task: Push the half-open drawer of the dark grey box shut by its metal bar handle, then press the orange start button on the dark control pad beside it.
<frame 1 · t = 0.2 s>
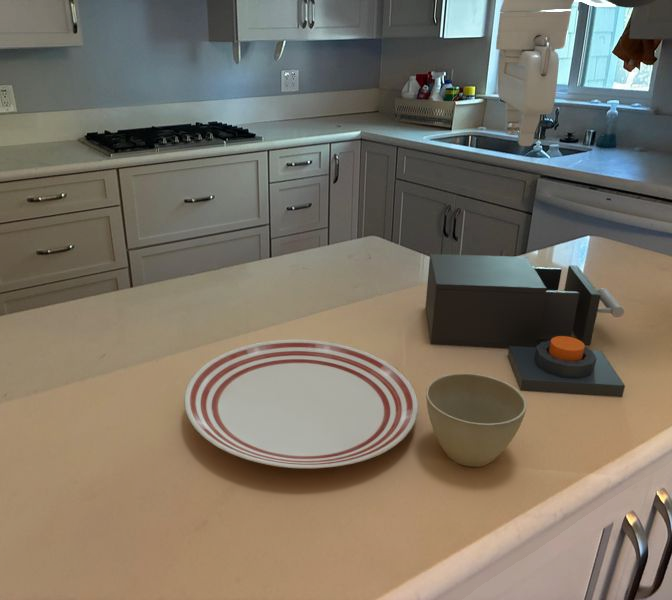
hand: (517, 139, 89), 27 cm above the worktop, tool pointing down, fingers open, 8 cm apart
start button: (566, 349, 79), point 4 cm above the worktop, slide at 0.1 cm
olive beige bowl: (468, 453, 67), on the worktop
dinner plate: (300, 414, 74), on the worktop
control pad: (561, 375, 81), on the worktop
dark grey box: (476, 328, 94), on the worktop
drawer: (550, 302, 90), point 5 cm above the worktop, slide at 6.0 cm
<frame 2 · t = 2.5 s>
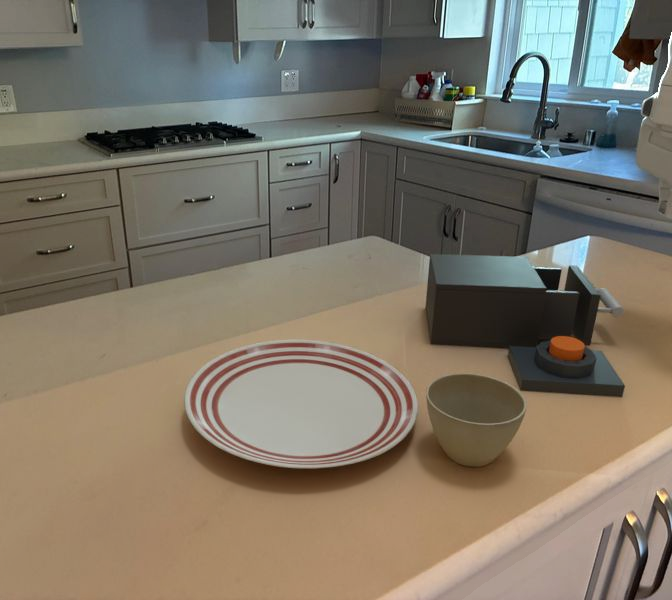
hand: (667, 215, 83), 18 cm above the worktop, tool pointing down, fingers closed
nothing on the worktop moved.
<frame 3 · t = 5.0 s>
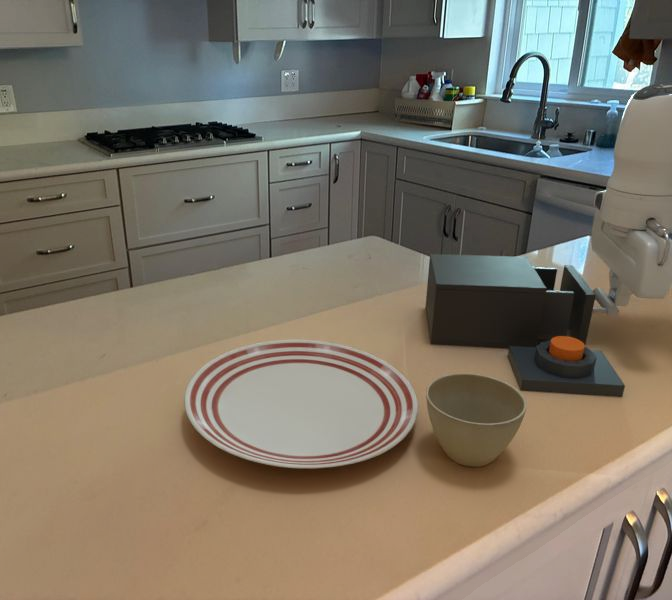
hand: (617, 302, 89), 5 cm above the worktop, tool pointing down, fingers closed, pressing on drawer
drawer: (545, 302, 91), point 5 cm above the worktop, slide at 5.4 cm, touching gripper
everything else where it was.
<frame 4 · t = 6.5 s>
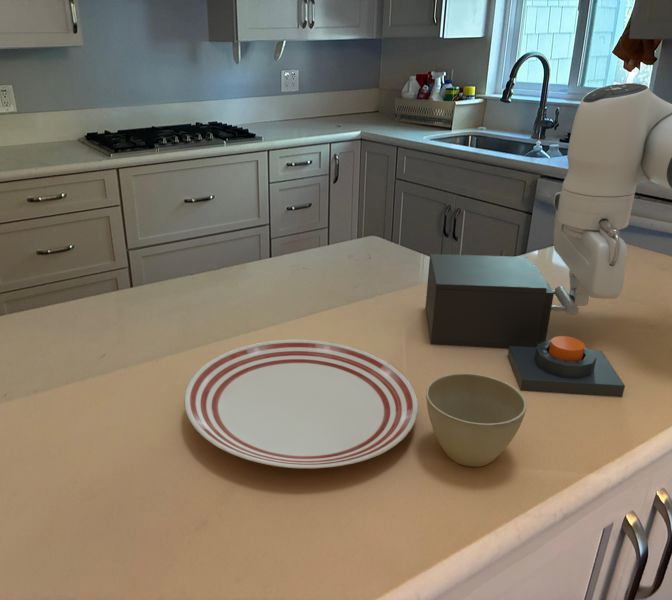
hand: (577, 302, 90), 5 cm above the worktop, tool pointing down, fingers closed, pressing on drawer
drawer: (507, 300, 91), point 5 cm above the worktop, slide at 0.0 cm, touching dark grey box, gripper
everything else where it was.
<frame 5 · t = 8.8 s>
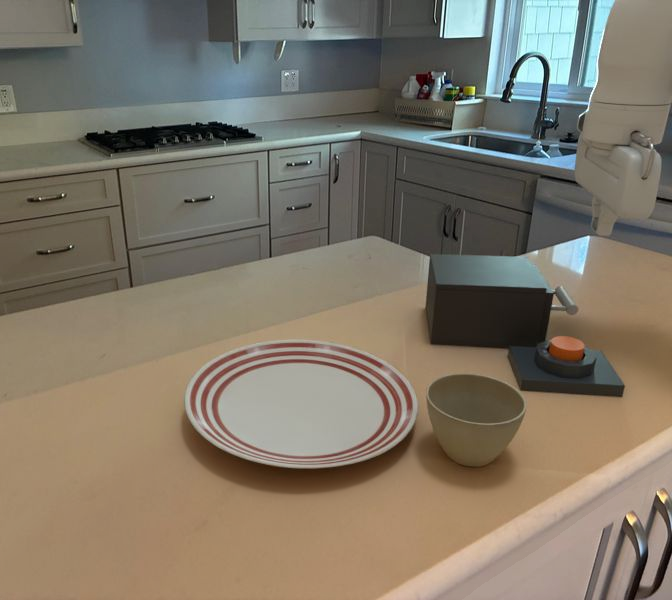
hand: (600, 232, 82), 17 cm above the worktop, tool pointing down, fingers closed
drawer: (507, 300, 91), point 5 cm above the worktop, slide at 0.0 cm, touching dark grey box
everything else where it was.
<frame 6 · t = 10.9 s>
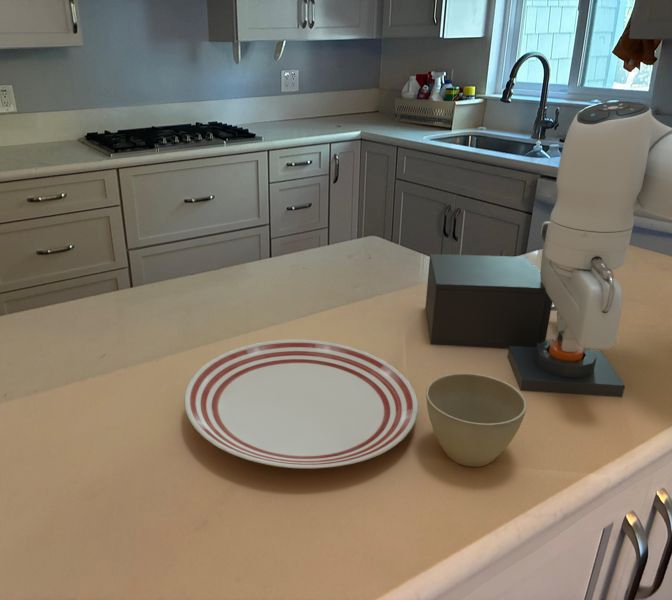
hand: (565, 346, 79), 4 cm above the worktop, tool pointing down, fingers closed, pressing on start button
start button: (565, 353, 79), point 3 cm above the worktop, slide at -0.5 cm, touching gripper
everything else where it was.
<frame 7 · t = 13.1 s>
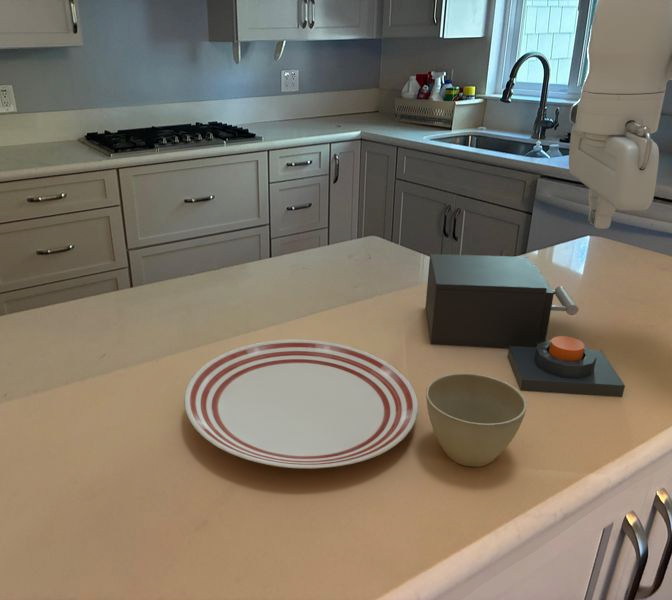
hand: (598, 225, 80), 18 cm above the worktop, tool pointing down, fingers closed
start button: (566, 349, 79), point 4 cm above the worktop, slide at 0.1 cm
everything else where it was.
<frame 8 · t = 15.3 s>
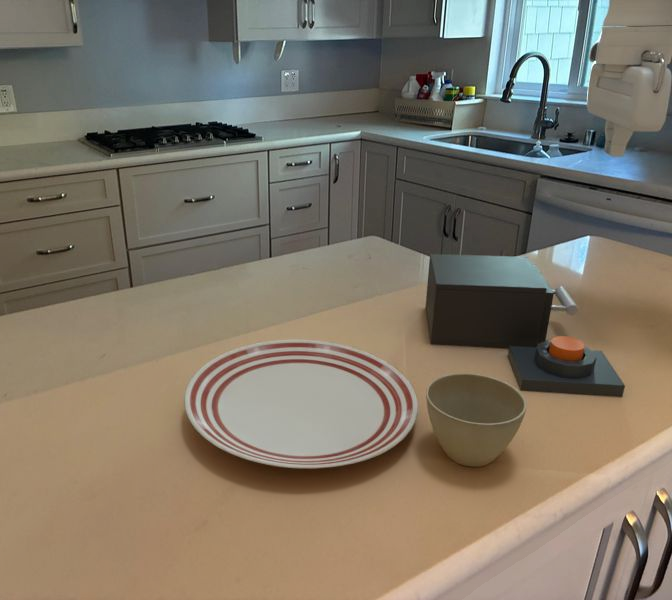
hand: (613, 154, 87), 25 cm above the worktop, tool pointing down, fingers closed
nothing on the worktop moved.
at the end: drawer slide at 0.0 cm; start button pushed in 1.0 cm at the most during the clip, back to where it started at the end; start button slide at 0.1 cm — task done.
